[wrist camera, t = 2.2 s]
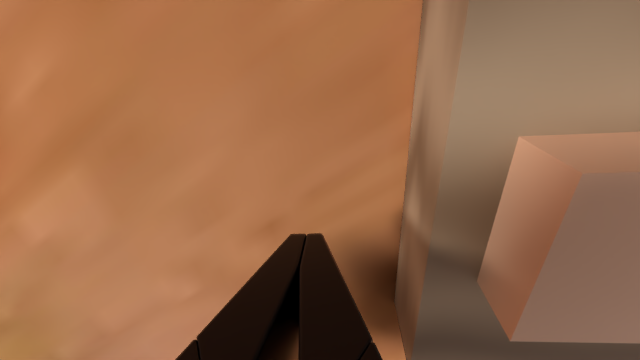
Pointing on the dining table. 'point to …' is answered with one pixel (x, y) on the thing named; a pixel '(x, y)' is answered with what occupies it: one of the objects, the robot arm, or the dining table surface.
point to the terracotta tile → (568, 241)
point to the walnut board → (498, 151)
